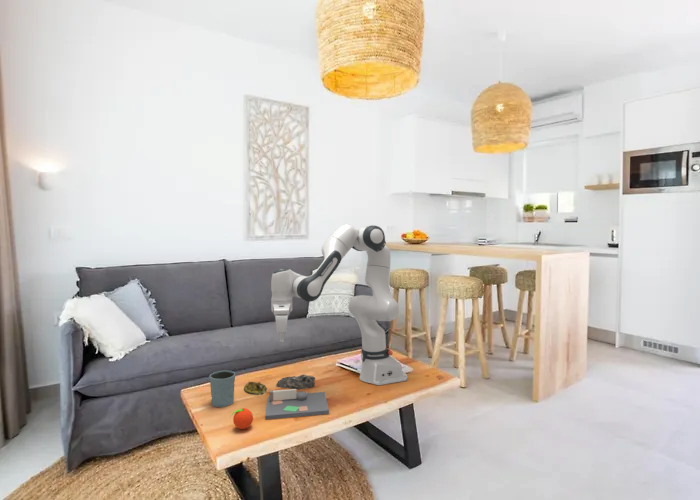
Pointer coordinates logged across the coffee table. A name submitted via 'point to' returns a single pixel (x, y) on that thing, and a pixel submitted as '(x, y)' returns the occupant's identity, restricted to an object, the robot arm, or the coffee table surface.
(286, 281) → the robot arm
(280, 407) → the dial board
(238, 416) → the clementine
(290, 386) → the fossil rock
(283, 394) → the control lever
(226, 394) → the grey-green cup
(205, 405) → the coffee table surface
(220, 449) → the coffee table surface
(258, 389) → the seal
